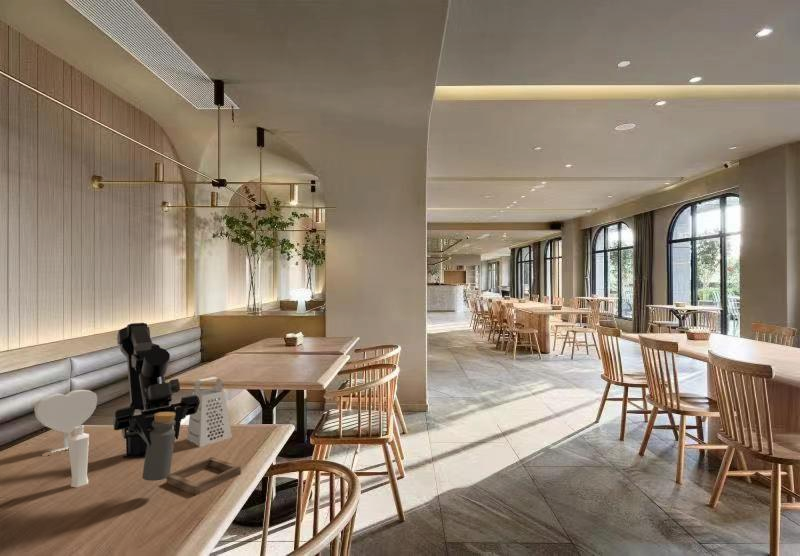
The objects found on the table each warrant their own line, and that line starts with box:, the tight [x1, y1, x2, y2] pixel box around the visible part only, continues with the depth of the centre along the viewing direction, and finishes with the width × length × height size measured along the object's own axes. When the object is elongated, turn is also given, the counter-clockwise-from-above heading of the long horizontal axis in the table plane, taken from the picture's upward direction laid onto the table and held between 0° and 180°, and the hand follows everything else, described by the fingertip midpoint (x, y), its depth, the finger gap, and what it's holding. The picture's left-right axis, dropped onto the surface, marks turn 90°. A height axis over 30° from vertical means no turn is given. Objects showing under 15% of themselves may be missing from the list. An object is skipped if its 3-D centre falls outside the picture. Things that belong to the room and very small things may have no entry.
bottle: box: [142, 412, 176, 482], centre depth 102 cm, size 6×6×15 cm
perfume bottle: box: [68, 424, 90, 489], centre depth 109 cm, size 5×4×15 cm
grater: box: [186, 376, 233, 448], centre depth 140 cm, size 10×10×20 cm
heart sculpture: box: [33, 389, 98, 453], centre depth 134 cm, size 16×5×18 cm, turn 143°
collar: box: [166, 456, 242, 496], centre depth 110 cm, size 13×13×2 cm
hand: (163, 441), depth 102 cm, fingers closed on bottle, 6 cm apart
